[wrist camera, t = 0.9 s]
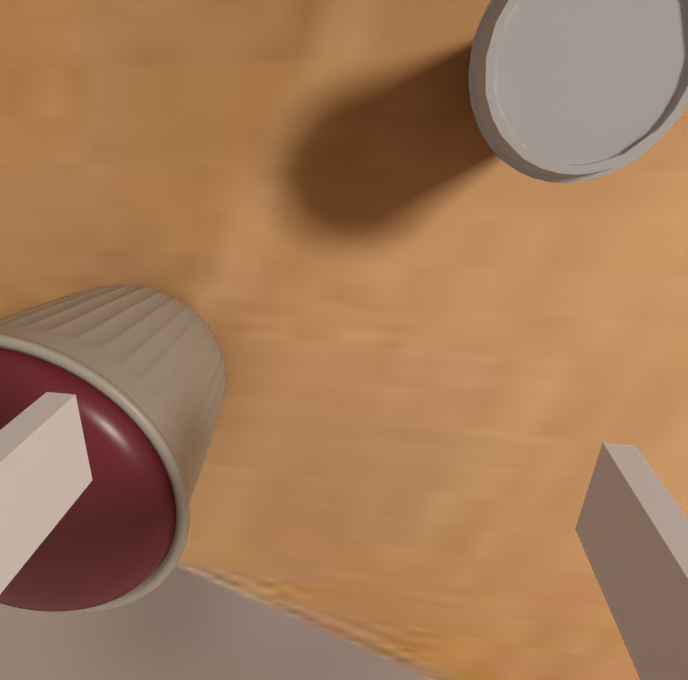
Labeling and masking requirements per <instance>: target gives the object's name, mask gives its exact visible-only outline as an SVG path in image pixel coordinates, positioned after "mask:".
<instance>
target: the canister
mask: <svg viewBox="0 0 688 680" xmlns="http://www.w3.org/2000/svg"><path fill="white" fill-rule="evenodd" d="M226 379H227V377H226V372H225V361H224V359H223V357H222V350H221V348H220V347H219V345H218V343H217V339H216V337H215V336H214V335H213V334H212V332H211V331H210V328H209V326H208V325H207V324H205V323H204V321H203V320H202V319H201V317H200V315H198V314H196V313H195V312H194V311H193V310H192V309H191V308H190V306H187V305H185V304H183V303H182V302H181V301H180V300H179V299H178V298H174V297H171V296H169V295H168V294H167V293H166V292H160V291H157V290H155V289H153V288H151V287H141V286H139V285H123V284H116V285H111V286H101V287H97V288H93V289H90V290H87V291H83V292H80V293H77V294H74V295H71V296H68V297H64V298H61V299H58V300H55V301H52V302H49V303H46V304H43V305H40V306H37V307H34V308H31V309H29V310H26V311H23V312H20V313H18V314H15V315H12V316H9V317H7V318H4V319H1V320H0V430H1V429H2V428H3V427H5V426H6V425H7V424H8V423H9V422H11V421H12V420H13V419H14V418H16V417H17V416H18V415H19V414H20V413H22V412H23V411H24V410H25V409H27V408H28V407H29V406H30V405H31V404H33V403H34V402H35V401H36V400H38V399H39V398H40V397H41V396H42V395H44V394H45V393H46V392H53V393H64V394H75V395H76V399H77V404H78V409H79V414H80V419H81V424H82V429H83V434H84V440H85V445H86V450H87V455H88V460H89V465H90V470H91V475H92V481H91V483H90V484H89V485H88V486H87V488H86V489H85V490H84V491H83V493H82V494H81V495H80V496H79V498H78V499H77V500H76V501H75V502H74V504H73V505H72V506H71V507H70V509H69V510H68V511H67V512H66V514H65V515H64V516H63V517H62V519H61V520H60V521H59V522H58V523H57V525H56V526H55V527H54V528H53V530H52V531H51V532H50V533H49V535H48V536H47V537H46V538H45V540H44V541H43V542H42V543H41V544H40V546H39V547H38V548H37V549H36V551H35V552H34V553H33V554H32V556H31V557H30V558H29V559H28V561H27V562H26V563H25V564H24V566H23V567H22V568H21V569H20V570H19V572H18V573H17V574H16V575H15V577H14V578H13V579H12V580H11V582H10V583H9V584H8V585H7V587H6V588H5V589H4V590H3V591H2V593H1V594H0V603H1V604H5V605H8V606H13V607H17V608H23V609H29V610H37V611H45V612H54V613H90V612H97V611H103V610H108V609H112V608H116V607H119V606H122V605H125V604H128V603H130V602H132V601H135V600H137V599H139V598H141V597H143V596H144V595H146V594H148V593H149V592H150V591H152V590H153V589H155V588H156V587H157V586H158V585H160V584H161V583H162V582H163V581H164V580H165V579H166V577H167V576H168V575H169V574H170V573H171V571H172V570H173V569H174V567H175V566H176V564H177V562H178V560H179V558H180V556H181V554H182V552H183V550H184V547H185V544H186V541H187V536H188V531H189V521H190V512H189V503H190V500H191V497H192V494H193V491H194V488H195V486H196V483H197V480H198V477H199V474H200V471H201V469H202V466H203V463H204V460H205V458H206V455H207V452H208V449H209V446H210V443H211V440H212V437H213V434H214V431H215V428H216V425H217V421H218V418H219V415H220V412H221V408H222V404H223V400H224V397H225V391H226V387H225V384H226Z"/></svg>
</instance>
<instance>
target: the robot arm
mask: <svg viewBox="0 0 688 680" xmlns="http://www.w3.org/2000/svg"><path fill="white" fill-rule="evenodd" d="M91 481H92V475H91V470H90V465H89V460H88V455H87V450H86V445H85V440H84V434H83V429H82V424H81V419H80V414H79V409H78V404H77V399H76V395H75V394H64V393H53V392H46V393H45V394H44V395H42V396H41V397H40V398H39V399H38V400H36V401H35V402H34V403H33V404H31V405H30V406H29V407H28V408H27V409H25V410H24V411H23V412H22V413H20V414H19V415H18V416H17V417H16V418H14V419H13V420H12V421H11V422H9V423H8V424H7V425H6V426H5V427H3V428H2V429H1V430H0V594H1V593H2V591H3V590H4V589H5V588H6V587H7V585H8V584H9V583H10V582H11V580H12V579H13V578H14V577H15V575H16V574H17V573H18V572H19V570H20V569H21V568H22V567H23V566H24V564H25V563H26V562H27V561H28V559H29V558H30V557H31V556H32V554H33V553H34V552H35V551H36V549H37V548H38V547H39V546H40V544H41V543H42V542H43V541H44V540H45V538H46V537H47V536H48V535H49V533H50V532H51V531H52V530H53V528H54V527H55V526H56V525H57V523H58V522H59V521H60V520H61V519H62V517H63V516H64V515H65V514H66V512H67V511H68V510H69V509H70V507H71V506H72V505H73V504H74V502H75V501H76V500H77V499H78V498H79V496H80V495H81V494H82V493H83V491H84V490H85V489H86V488H87V486H88V485H89V484H90V483H91ZM576 532H577V534H578V536H579V539H580V541H581V543H582V545H583V548H584V550H585V552H586V555H587V557H588V559H589V562H590V564H591V566H592V569H593V571H594V573H595V576H596V578H597V580H598V583H599V585H600V587H601V589H602V592H603V594H604V596H605V599H606V601H607V603H608V606H609V608H610V610H611V613H612V615H613V617H614V620H615V622H616V624H617V627H618V629H619V631H620V634H621V636H622V638H623V640H624V643H625V645H626V647H627V650H628V652H629V654H630V657H631V659H632V661H633V664H634V666H635V668H636V671H637V673H638V675H639V678H640V680H688V518H687V516H686V515H685V514H684V512H683V511H682V509H681V508H680V507H679V505H678V504H677V502H676V501H675V500H674V498H673V497H672V495H671V494H670V493H669V491H668V490H667V489H666V487H665V486H664V484H663V483H662V482H661V480H660V479H659V477H658V476H657V475H656V473H655V472H654V470H653V469H652V468H651V466H650V465H649V463H648V462H647V461H646V459H645V458H644V456H643V455H642V454H641V452H640V451H639V449H638V448H637V447H636V445H625V444H614V443H602V447H601V450H600V453H599V456H598V459H597V462H596V465H595V469H594V472H593V475H592V478H591V481H590V484H589V488H588V491H587V494H586V497H585V500H584V503H583V507H582V510H581V513H580V516H579V519H578V522H577V525H576Z"/></svg>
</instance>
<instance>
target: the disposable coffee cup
mask: <svg viewBox="0 0 688 680" xmlns="http://www.w3.org/2000/svg"><path fill="white" fill-rule="evenodd" d="M468 82H469V93H470V102H471V107H472V110H473V113H474V116H475V119H476V122H477V125H478V128H479V130H480V132H481V133H482V135H483V137H484V138H485V140H486V142H487V143H488V145H489V146H490V148H491V149H492V150H493V151H494V153H495V154H496V155H497V156H498V157H499V158H501V159H502V160H503V161H504V162H506V163H507V164H508V165H510V166H511V167H513V168H514V169H515V170H517V171H519V172H521V173H523V174H525V175H528V176H530V177H532V178H536V179H540V180H544V181H548V182H558V183H571V182H581V181H586V180H591V179H596V178H599V177H602V176H604V175H607V174H609V173H612V172H614V171H617V170H619V169H620V168H622V167H624V166H626V165H627V164H629V163H631V162H632V161H634V160H636V159H637V158H639V157H640V156H641V155H642V154H644V153H645V152H646V151H647V150H648V149H649V148H650V147H652V146H653V145H654V144H655V143H656V142H657V141H658V140H660V139H661V137H662V136H663V135H664V134H665V133H666V132H667V131H668V130H669V129H670V128H671V127H672V125H673V124H674V123H675V122H676V121H677V120H678V118H679V117H680V115H681V114H682V112H683V111H684V109H685V108H686V106H687V105H688V0H491V1H490V3H489V5H488V7H487V9H486V11H485V13H484V15H483V17H482V19H481V22H480V24H479V26H478V29H477V32H476V35H475V38H474V41H473V45H472V49H471V55H470V62H469V76H468Z"/></svg>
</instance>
